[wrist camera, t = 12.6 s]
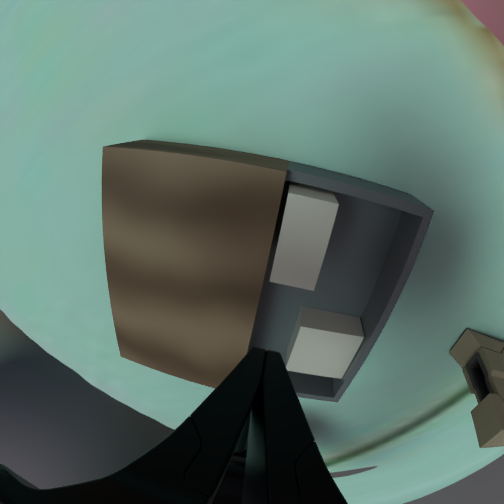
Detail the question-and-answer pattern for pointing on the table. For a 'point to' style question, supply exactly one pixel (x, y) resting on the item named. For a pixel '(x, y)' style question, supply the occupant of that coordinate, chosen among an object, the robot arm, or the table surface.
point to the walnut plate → (187, 252)
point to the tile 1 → (303, 235)
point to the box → (345, 269)
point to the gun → (484, 384)
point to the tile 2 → (323, 343)
